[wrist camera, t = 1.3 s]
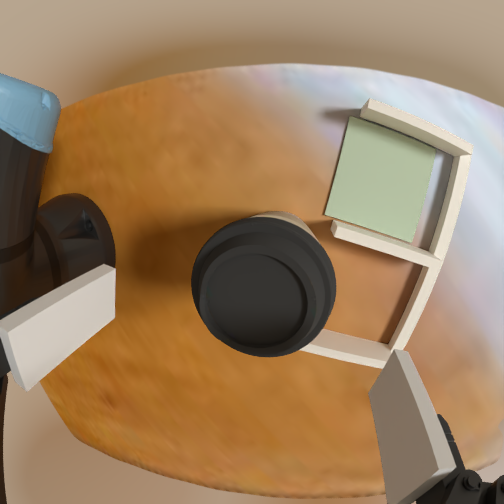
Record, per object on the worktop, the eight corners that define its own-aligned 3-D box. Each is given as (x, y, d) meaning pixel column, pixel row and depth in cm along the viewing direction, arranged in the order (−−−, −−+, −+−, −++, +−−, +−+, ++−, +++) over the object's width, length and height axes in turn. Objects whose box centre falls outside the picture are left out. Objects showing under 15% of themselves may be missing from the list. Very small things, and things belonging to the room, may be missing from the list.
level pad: (324, 214, 28) (324, 214, 28) (349, 116, 25) (349, 115, 24) (410, 242, 27) (411, 243, 26) (435, 149, 24) (436, 149, 23)
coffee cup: (303, 186, 27) (302, 194, 13) (336, 267, 29) (359, 347, 15) (223, 221, 30) (151, 261, 16) (258, 296, 31) (221, 385, 17)
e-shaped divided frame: (296, 329, 31) (294, 348, 28) (361, 108, 24) (369, 98, 20) (394, 353, 30) (402, 372, 26) (465, 153, 23) (483, 151, 19)
